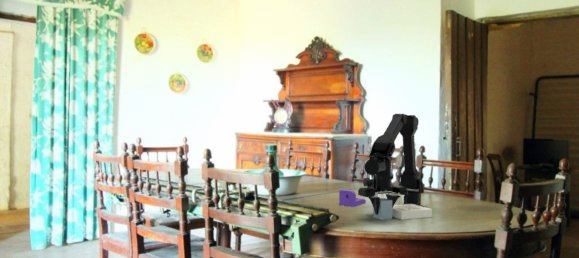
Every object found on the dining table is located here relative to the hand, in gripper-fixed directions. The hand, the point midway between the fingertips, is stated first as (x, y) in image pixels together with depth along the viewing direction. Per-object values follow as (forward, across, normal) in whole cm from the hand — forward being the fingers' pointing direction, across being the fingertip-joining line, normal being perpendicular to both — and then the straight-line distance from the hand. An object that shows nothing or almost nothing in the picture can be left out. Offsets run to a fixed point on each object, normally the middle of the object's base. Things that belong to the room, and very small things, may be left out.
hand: (382, 214), depth 175 cm
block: (+2, 0, 0) cm, 2 cm away
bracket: (+2, -4, -29) cm, 30 cm away
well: (+2, -12, -1) cm, 12 cm away
